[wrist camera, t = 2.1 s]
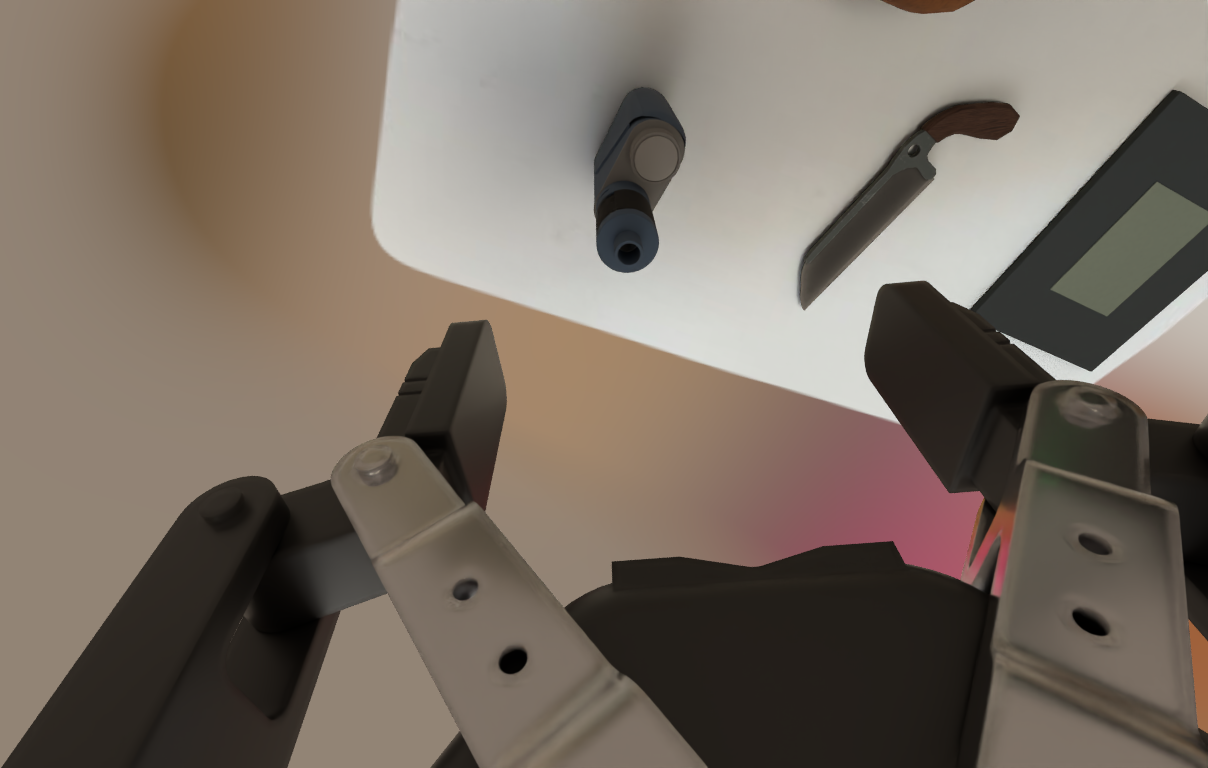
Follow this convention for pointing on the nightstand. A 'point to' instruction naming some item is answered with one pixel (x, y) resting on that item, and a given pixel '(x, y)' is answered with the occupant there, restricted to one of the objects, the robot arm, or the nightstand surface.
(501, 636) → the robot arm
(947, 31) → the nightstand surface
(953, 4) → the wooden figurine
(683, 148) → the vaping device
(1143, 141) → the mat
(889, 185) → the knife
